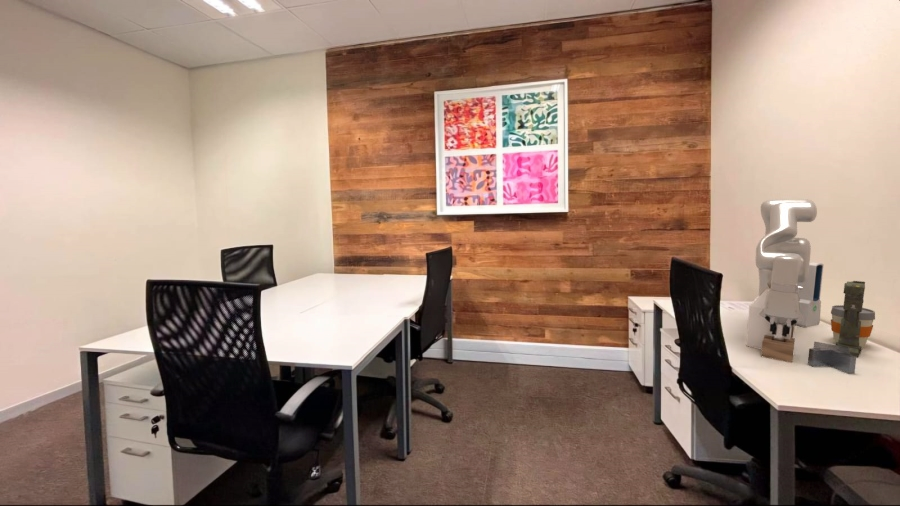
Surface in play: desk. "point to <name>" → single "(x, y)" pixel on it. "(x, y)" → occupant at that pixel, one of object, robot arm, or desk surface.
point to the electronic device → (811, 296)
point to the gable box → (761, 322)
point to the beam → (778, 348)
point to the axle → (779, 332)
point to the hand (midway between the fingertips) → (779, 334)
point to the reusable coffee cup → (864, 317)
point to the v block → (832, 357)
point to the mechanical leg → (852, 317)
